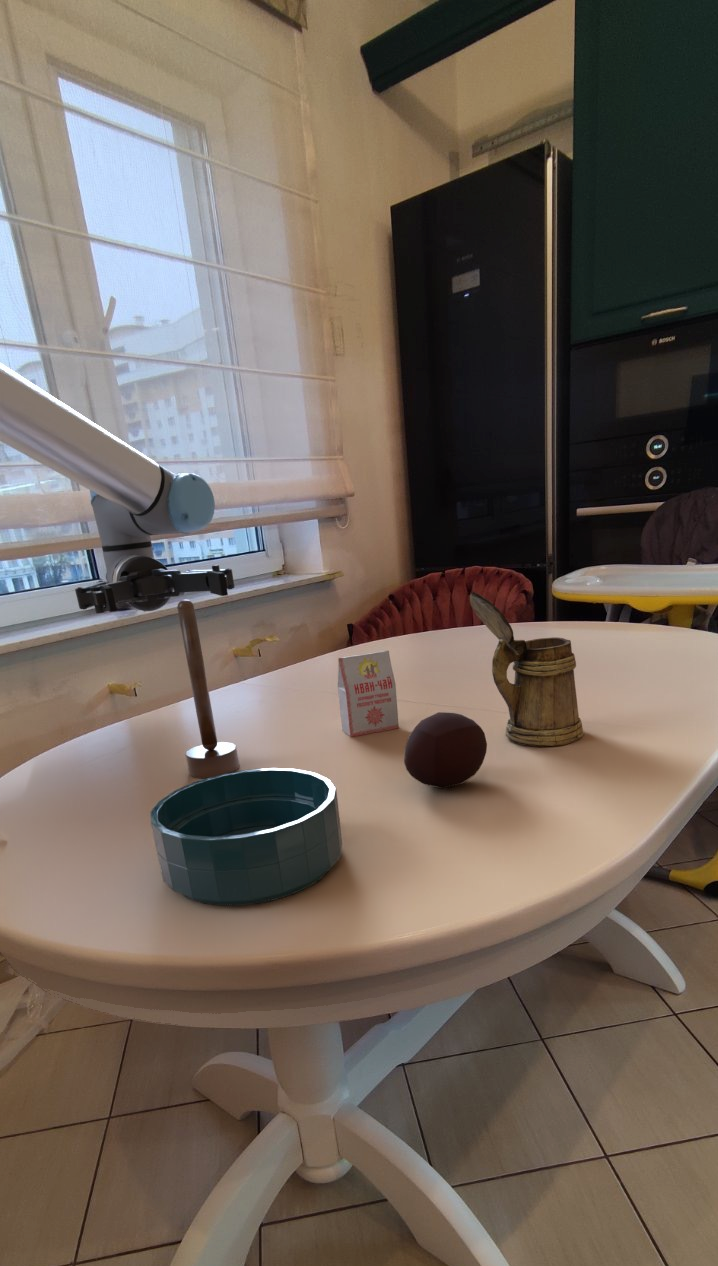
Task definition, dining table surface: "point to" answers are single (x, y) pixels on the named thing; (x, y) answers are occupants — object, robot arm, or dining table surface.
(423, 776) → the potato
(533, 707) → the wooden mug
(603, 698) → the dining table surface
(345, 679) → the tea bag
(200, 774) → the brown stick with disc
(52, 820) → the dining table surface
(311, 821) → the bowl
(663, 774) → the dining table surface
